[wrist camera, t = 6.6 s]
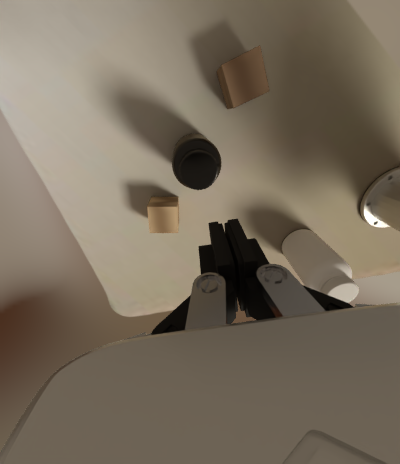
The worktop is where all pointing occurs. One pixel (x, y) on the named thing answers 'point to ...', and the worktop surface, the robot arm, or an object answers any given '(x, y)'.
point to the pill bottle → (319, 265)
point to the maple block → (163, 214)
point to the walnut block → (243, 78)
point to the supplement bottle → (196, 162)
